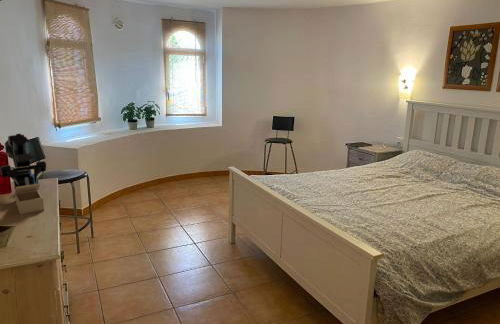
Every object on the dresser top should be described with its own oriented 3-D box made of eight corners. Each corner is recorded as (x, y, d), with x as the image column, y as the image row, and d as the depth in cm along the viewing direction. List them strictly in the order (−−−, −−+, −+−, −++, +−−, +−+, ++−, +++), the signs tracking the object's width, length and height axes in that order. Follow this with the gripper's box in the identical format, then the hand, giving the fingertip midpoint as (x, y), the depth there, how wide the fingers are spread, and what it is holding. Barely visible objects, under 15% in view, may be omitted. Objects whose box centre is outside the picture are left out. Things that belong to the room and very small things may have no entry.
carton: (16, 206, 186) (14, 193, 184) (39, 202, 192) (37, 190, 190) (20, 214, 175) (18, 202, 174) (44, 210, 181) (42, 197, 180)
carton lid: (14, 193, 184) (13, 184, 185) (37, 190, 190) (36, 181, 191) (16, 188, 173) (14, 178, 174) (40, 184, 179) (38, 175, 180)
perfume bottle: (30, 191, 208) (27, 170, 205) (21, 190, 209) (18, 170, 206) (39, 188, 214) (36, 168, 211) (29, 187, 215) (26, 167, 212)
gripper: (-3, 149, 172) (3, 178, 167) (43, 145, 183) (50, 171, 178) (-2, 162, 181) (4, 190, 175) (42, 157, 191) (49, 183, 186)
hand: (27, 183), depth 178 cm, fingers open, 7 cm apart
